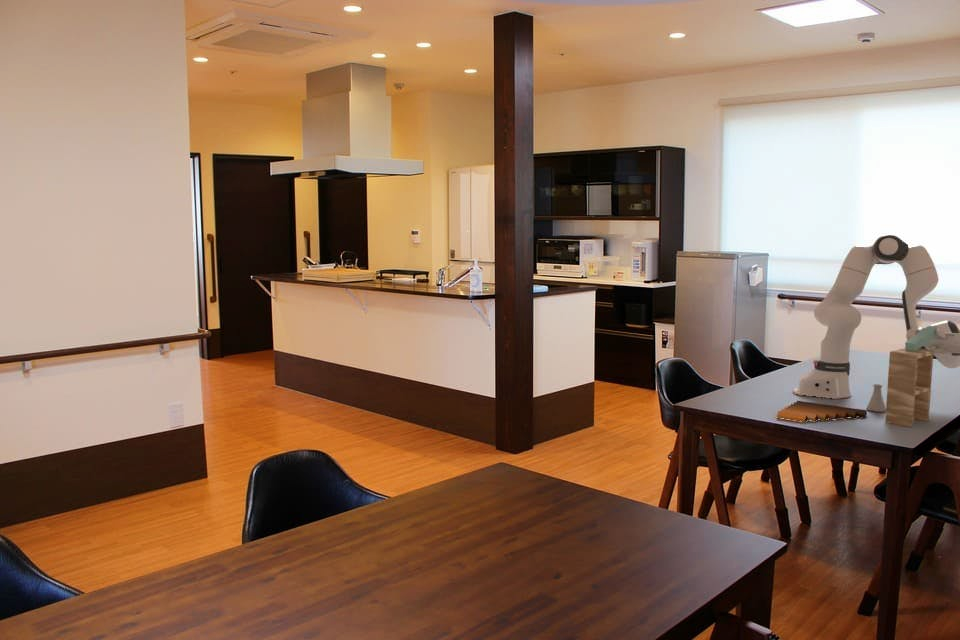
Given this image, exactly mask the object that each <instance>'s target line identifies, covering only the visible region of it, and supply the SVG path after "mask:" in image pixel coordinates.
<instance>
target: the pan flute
mask: <svg viewBox="0 0 960 640" xmlns="http://www.w3.org/2000/svg"><path fill="white" fill-rule="evenodd" d="M867 411H868V410H866V409H859V408H852V407H845V406H838V405H832V404H824V403H818V402H817V403H816V402H811V401H803V400H796V402H795V401H794V402H793V403H791V404H790V405H787V407H784V409H783V408H782V409H781V410H778V411H777V414H776V418H777V417H778V418H784V419H790V420H796V421H802V422H806V421H807V420H812V421H816V420H817V421H818V419H820V420H826V419H828V418H829V419H837V418H843V419H846V418H847V417H851V418H856V417H857V416H859V417H857V418H860V417H864V418H863V419H866V418H867V416H868V415H867V414H868V412H867ZM865 417H866V418H865ZM851 418H850V419H851ZM857 418H856V419H857ZM843 419H842V420H843ZM847 419H848V418H847ZM847 419H846V420H847ZM837 420H838V419H837ZM807 422H808V421H807ZM807 422H806V423H807Z"/></svg>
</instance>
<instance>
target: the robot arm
mask: <svg viewBox="0 0 960 640" xmlns="http://www.w3.org/2000/svg"><path fill="white" fill-rule="evenodd" d="M893 263H896V264H899V266H900V267H901V268H902V271H903V275H904V277H905V281H906V285H905V289H904V290H903V291H902V293H901V301H902V309H903V314H904V316H903V317H904V322H905V328H906V334H905V338H906V342H907V341H908V340H909V339H911V338H912V337H913V336H915V335H916V334H918V333H919V332H920V331H922V330H923V329H924V328H926V327H927V326H938V329H935V331H934V333H935V335H937V336H935V337H934V338H933V339H931V340H930V341H929V342H927V343H926V344H925V345H923V346H922V347H921V348H919V349H926V350H934V353H933V357H935V359H936V360H937V361H938V362H939V363H940V364H941V365H942V366H943V367H945V368H947V369H956V368H959V367H960V329H959V327H958V325H957V324H956V323H954V322H952V321H951V320H948V319H947V320H943V321H940V322H936V323H933V324H930V325H926V326H922V327H920V326H919V325H918V323H919V322H918V318H917V312H916V311H917V310H916V307H917V304H918V303H919V302H920V301H921V300H922V299H923V298H924V297H926V296H927V295H930V293H932V291H934V289H935V288H936V287H937V286H938V283H939V275H938V271H937V268H936V265H935V263H934V261H933V258H932V257H931V255H930V253H929V251H928V250H927V249H926V247H924V246H923V245H920V244H913V245H912V244H911V245H908V243H907V242H905V241H904V240H902V239H901V238H900V237H899V236H897V235H895V234H884V235H881V236H879V237H878V238H877V239H876V240H875V241H874V243H873V244H872V245H870V246H867V245H863V244H858V245H855V246H853V247H851V249H849V252H848V253H847V255H846V257H845V258H844V260H843V262H842V265H841V267H840V269H839V271H838V274H837V277H836V279H835V281H834V283H833V285H832V287H831V288H830V290H829V291H828V293H827V294H826V296H825V297H824V298H823V300H822V301H820V302H819V303H818V304H817V305H816V306H815V308H814V311H813V314H814V318H815V320H816V321H817V322H818V323H820V324H821V325H822V326H825V327H827V329H826V333H825V336H824V338H823V339H822V340H821V342H820V353H819V354H820V355H819V360H818V359H814V360H813V365H814V366H813V367H814V369H812V370H810V371H809V372H807V373H806V374H804V375H802V376H801V378H800V380H799V383H798V386H796V387H793V390H792V391H793V394H795V395H797V394H798V396H803V395H806V396H805V397H812V396H816V397H815V398H821V397H823V398H824V397H825V398H824V399H830V398H832V399H833V400H838V399H842V398H843V399H846V398H850V397H852V394H851V387H850V380H849V378H850V377H849V376H850V373H851V371H850V370H851V362H850V353H851V352H850V348H851V344H852V343H851V342H852V339H853V335H854V333H855V331H856V329H857V328H859V326H860V325H861V322H862V315H861V312H860V311H859V309H858V308H856V307H855V306H853V305H852V304H853V302H855V300H856V299H857V298H858V297H859V296H861V295H862V293H863V291H864V289H865V286H866V284H867V281H868V279H869V277H870V275H871V272H872V270H873V267H874V266H875V265H891V264H893ZM823 398H822V399H823Z"/></svg>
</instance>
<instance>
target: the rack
mask: <svg viewBox="0 0 960 640" xmlns="http://www.w3.org/2000/svg"><path fill="white" fill-rule="evenodd" d="M933 353H934V350H926V349H918V350H917V351H916V352H911V351H905V347H904V348H900V349H895V350H891V351H889V358H888V360H889V363H888V376H887V387H886V388H887V389H886V403H885V404H886V405H885V407H886V411H885V419H884V420H885V421H884V422H885V423H886V422H889V423H888V424H891V423H894V424H893V425H897V424H898V425H899V426H902V425H903V426H902V427H907V428H908V427H909V428H913V427H914V422H915V421H914V420H918V421H925V422H929V419H930V406H931V405H930V404H931V392H932V382H933V381H932V380H933V367H934V366H933V364H934V355H933ZM898 425H897V426H898Z"/></svg>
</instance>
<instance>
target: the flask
mask: <svg viewBox="0 0 960 640" xmlns="http://www.w3.org/2000/svg"><path fill="white" fill-rule="evenodd" d="M882 387H883V384H879V383H874V384H873V392H872V395H871V397H870V400H869V402H868V403H867V406H866V408H865V410H866V411H870V412H876V413H884V412H885V413H886V405H885V404H886V403H885V402H884V398H883V395H882V393H883V392H882Z"/></svg>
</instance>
